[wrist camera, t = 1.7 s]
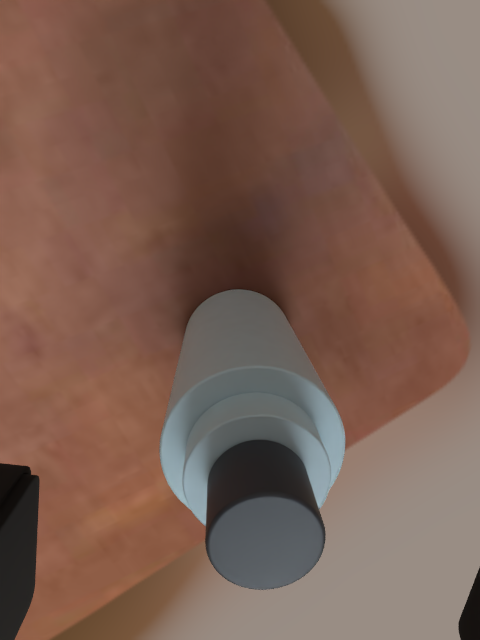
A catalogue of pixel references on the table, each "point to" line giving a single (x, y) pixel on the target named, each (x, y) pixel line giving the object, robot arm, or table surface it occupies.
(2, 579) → the robot arm
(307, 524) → the loose bottle
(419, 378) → the table surface
